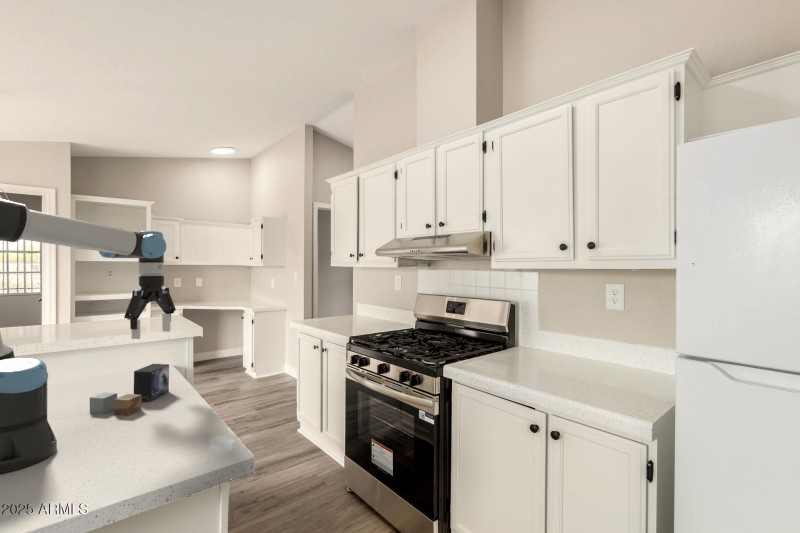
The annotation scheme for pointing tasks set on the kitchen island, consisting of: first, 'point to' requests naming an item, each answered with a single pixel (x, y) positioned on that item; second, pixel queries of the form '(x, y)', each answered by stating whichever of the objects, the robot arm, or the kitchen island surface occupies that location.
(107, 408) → the slate-grey block
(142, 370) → the small box
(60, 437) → the kitchen island surface
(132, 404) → the walnut block
